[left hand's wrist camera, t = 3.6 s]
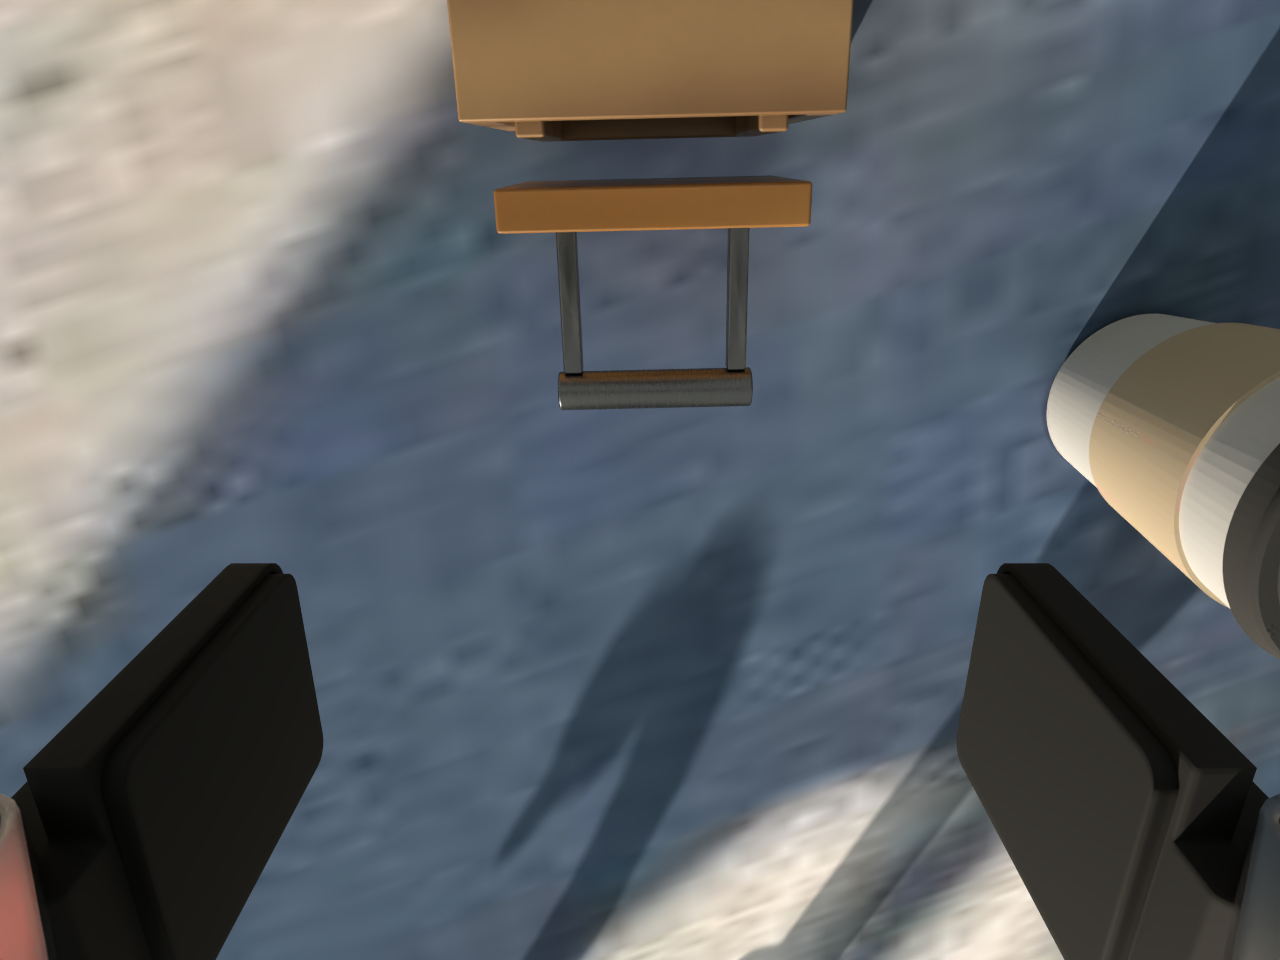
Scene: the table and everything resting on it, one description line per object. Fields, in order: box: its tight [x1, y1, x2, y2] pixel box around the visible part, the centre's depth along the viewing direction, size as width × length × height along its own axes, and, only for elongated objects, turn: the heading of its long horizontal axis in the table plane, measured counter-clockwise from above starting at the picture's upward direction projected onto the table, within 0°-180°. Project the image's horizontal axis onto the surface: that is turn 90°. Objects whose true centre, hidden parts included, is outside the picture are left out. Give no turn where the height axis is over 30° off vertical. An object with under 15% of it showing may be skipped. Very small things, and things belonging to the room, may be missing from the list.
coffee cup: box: [1047, 314, 1280, 659], centre depth 26 cm, size 9×9×15 cm
